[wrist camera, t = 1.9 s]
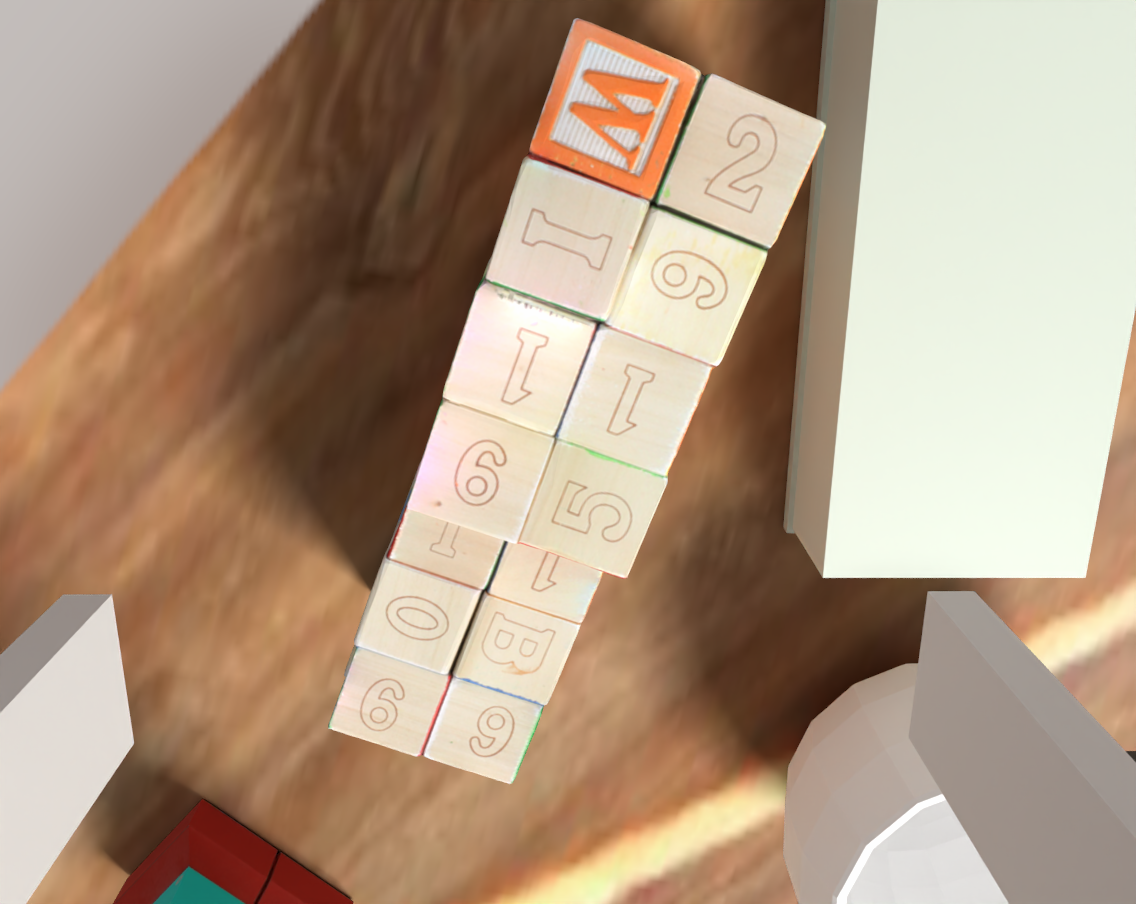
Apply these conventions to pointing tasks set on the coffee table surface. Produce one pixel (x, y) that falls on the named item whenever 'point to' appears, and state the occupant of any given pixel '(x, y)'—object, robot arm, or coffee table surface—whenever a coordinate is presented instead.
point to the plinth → (964, 286)
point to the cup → (875, 809)
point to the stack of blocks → (569, 392)
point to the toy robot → (221, 868)
